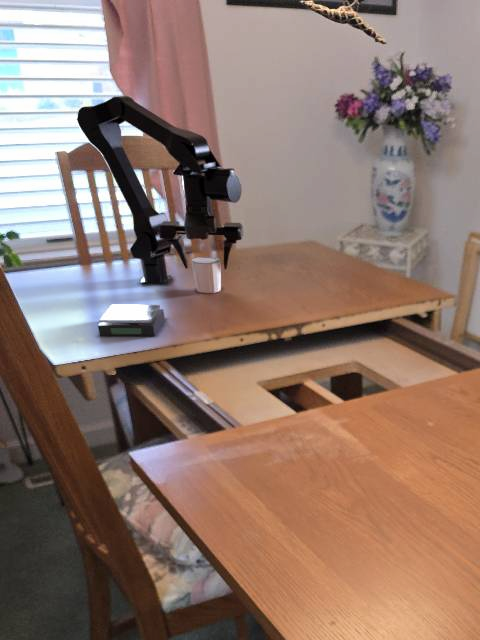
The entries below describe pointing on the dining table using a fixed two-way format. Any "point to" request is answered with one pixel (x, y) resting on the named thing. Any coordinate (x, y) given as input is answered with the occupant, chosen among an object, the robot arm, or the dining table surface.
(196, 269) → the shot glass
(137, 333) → the scale
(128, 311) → the scale pan
